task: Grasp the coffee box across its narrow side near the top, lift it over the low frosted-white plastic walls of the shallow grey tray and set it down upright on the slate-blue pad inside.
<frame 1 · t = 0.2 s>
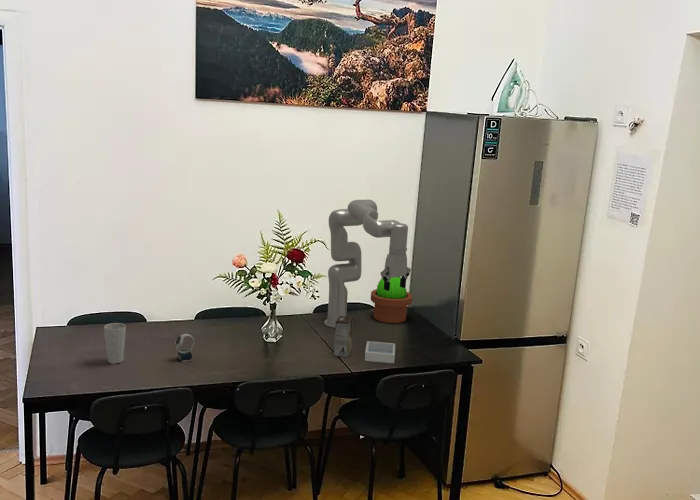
hand: (394, 288, 275), 31 cm above the table, tool pointing down, fingers open, 9 cm apart
cup: (115, 362, 254), on the table
watch: (184, 359, 261), on the table
coffee box: (342, 353, 279), on the table
shallow grey tray: (379, 356, 278), on the table
potted cactus: (389, 318, 332), on the table
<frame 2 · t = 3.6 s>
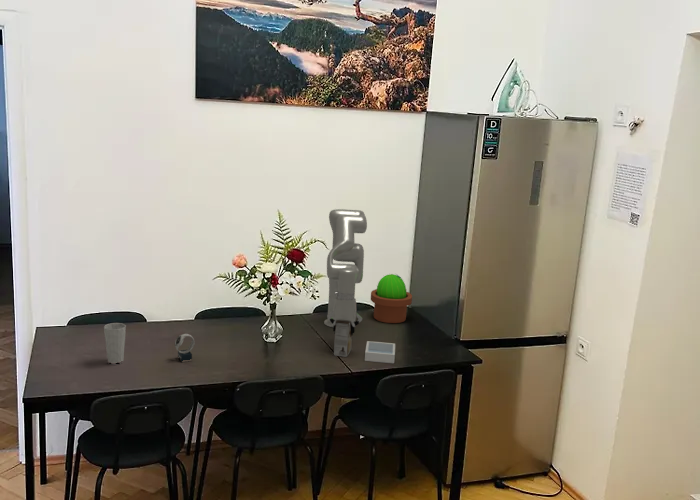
hand: (343, 333, 277), 9 cm above the table, tool pointing down, fingers closed on coffee box, 6 cm apart
coffee box: (342, 353, 279), on the table, touching gripper
everything else where it was.
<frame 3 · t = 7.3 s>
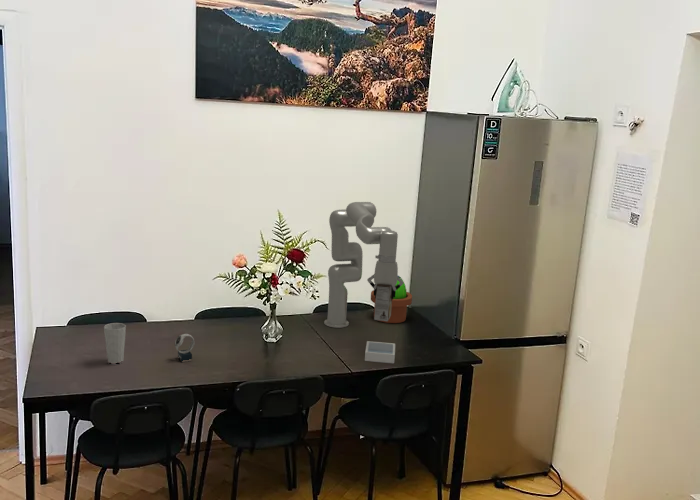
hand: (384, 297, 272), 27 cm above the table, tool pointing down, fingers closed on coffee box, 6 cm apart
coffee box: (382, 318, 274), point 18 cm above the table, touching gripper
everything else where it was.
when the fingers open (11 cm above the table, at t = 10.9 s): coffee box drops 1 cm, resting on shallow grey tray.
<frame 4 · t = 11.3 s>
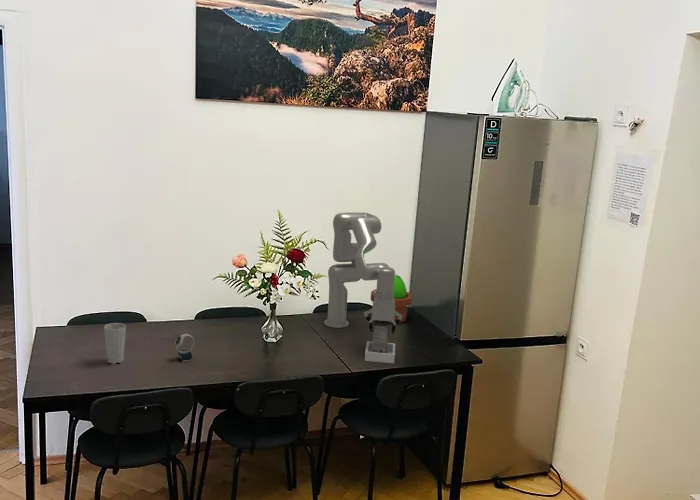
hand: (381, 331, 276), 12 cm above the table, tool pointing down, fingers open, 9 cm apart
coffee box: (379, 355, 278), resting on shallow grey tray
everything else where it was.
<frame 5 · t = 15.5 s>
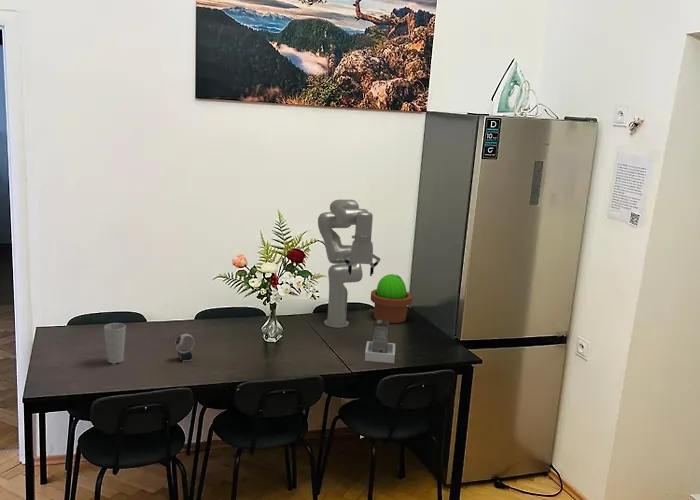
hand: (360, 274, 286), 33 cm above the table, tool pointing down, fingers open, 9 cm apart
nothing on the table moved.
at the end: coffee box 0.3 cm off-centre on the shallow grey tray, point 0.1 cm above the shallow grey tray's base; coffee box tilted 0°; the gripper is holding nothing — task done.
